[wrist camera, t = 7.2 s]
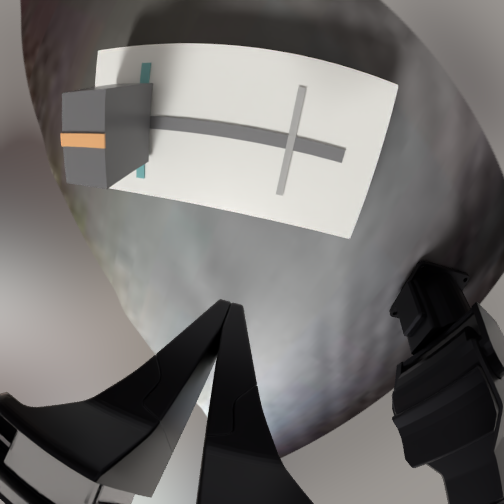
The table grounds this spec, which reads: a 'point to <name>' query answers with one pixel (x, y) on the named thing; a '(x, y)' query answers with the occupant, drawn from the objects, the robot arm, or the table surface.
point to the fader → (105, 132)
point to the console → (256, 130)
